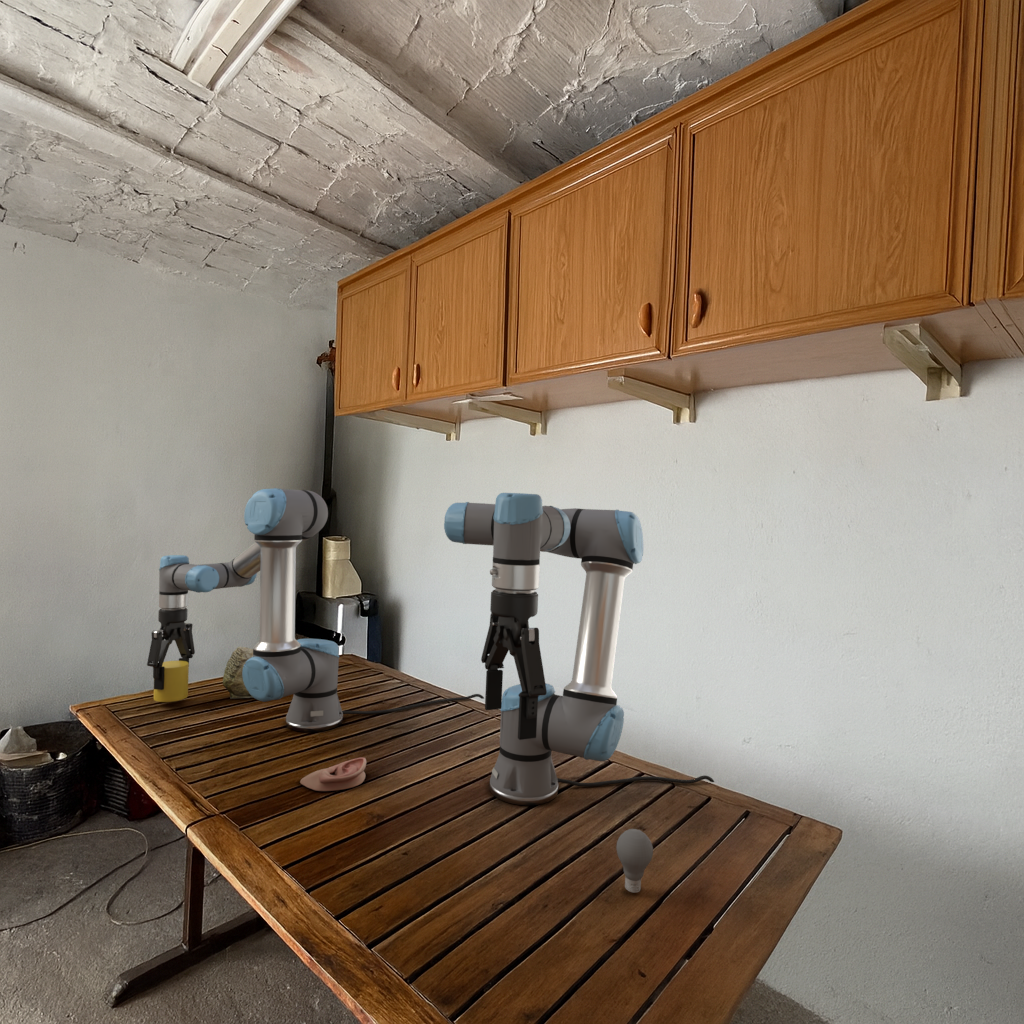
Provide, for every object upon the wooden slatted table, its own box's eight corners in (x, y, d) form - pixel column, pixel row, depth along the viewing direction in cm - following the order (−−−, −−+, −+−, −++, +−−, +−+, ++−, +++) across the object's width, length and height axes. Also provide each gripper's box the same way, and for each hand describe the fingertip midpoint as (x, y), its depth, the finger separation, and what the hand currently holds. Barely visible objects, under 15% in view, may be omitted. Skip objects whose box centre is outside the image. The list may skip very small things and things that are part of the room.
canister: (158, 693, 189) (159, 661, 189) (191, 692, 191) (192, 660, 191) (149, 702, 181) (150, 668, 180) (183, 701, 183) (184, 667, 183)
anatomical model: (293, 769, 137) (319, 749, 148) (292, 787, 137) (319, 766, 148) (350, 777, 134) (372, 756, 145) (349, 796, 134) (372, 773, 146)
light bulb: (610, 879, 108) (613, 822, 108) (644, 879, 109) (647, 822, 109) (619, 902, 102) (622, 840, 102) (655, 901, 103) (658, 840, 103)
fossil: (218, 695, 195) (220, 647, 195) (278, 685, 208) (279, 640, 207) (228, 703, 189) (230, 653, 188) (289, 692, 201) (290, 645, 201)
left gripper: (188, 601, 197) (186, 674, 197) (132, 613, 176) (130, 693, 176) (209, 603, 196) (207, 676, 196) (156, 615, 174) (154, 696, 175)
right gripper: (466, 579, 110) (461, 700, 111) (526, 603, 88) (519, 755, 88) (505, 579, 114) (500, 696, 114) (573, 602, 91) (567, 749, 91)
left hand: (171, 684), depth 186 cm, fingers closed on canister, 9 cm apart
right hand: (508, 722), depth 101 cm, fingers open, 13 cm apart
